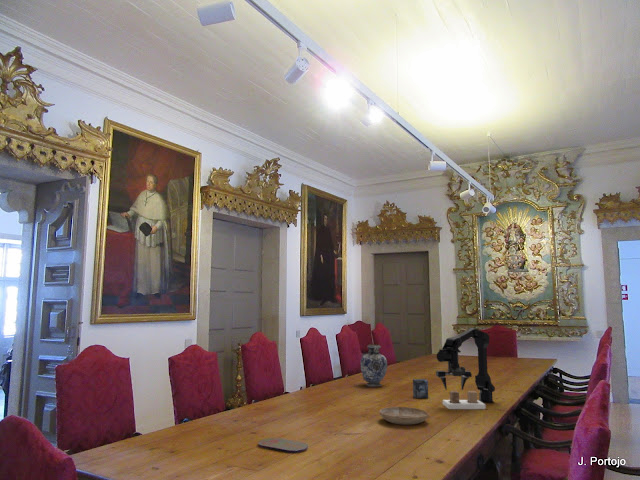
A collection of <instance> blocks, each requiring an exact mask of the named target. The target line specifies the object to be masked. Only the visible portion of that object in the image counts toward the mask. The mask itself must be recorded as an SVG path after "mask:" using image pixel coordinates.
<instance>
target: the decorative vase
mask: <svg viewBox="0 0 640 480" xmlns="http://www.w3.org/2000/svg"><path fill="white" fill-rule="evenodd" d="M366 348H368V353H365V354H363V356H362V357H361V359H360V362H359V363H360V371H361V373H362V375H361V376H362V378H363V381H365V382H367V383H366V386H367V387H371V388H372V387H373V388H376V387H377V388H380V387H382V386H383V385H382V384H381V383H380V382H382V381H383V379H384V378H385V377H386V373H387V370H388V361H387V357H385V355H383V354H381V353H380V349H381V348H382V346H380V344H376V343H375V344H373V343H369V344H368V345H367V346H366Z"/></svg>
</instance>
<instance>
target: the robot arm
mask: <svg viewBox="0 0 640 480" xmlns="http://www.w3.org/2000/svg"><path fill="white" fill-rule="evenodd" d="M472 338H473V340H474V343H475V346H476V347H477V362H478V365H477V366H478V373H477V374H476V375H474V378H475V379H474V383H475V385H476V388H477V390H478V391H479V392H478V398H479V399H478V400H479V401H481V402H482V403H494V400H493V399H494V398H493V393H494V392H495V389H496V387H495V385H494V384H493V382H492V379H491V376H490V375H489V372H488V356H487V355H488V354H487V353H488V352H487V348H488V346H489V344H490V335H489V333H487V332H484V331H481V330H479V329H478V328H476V327H475V328H474V327H468V329H466V330H465V331H463V332H461V333H460V334H458V335H456V336H450V337H448V338H446V340H445V342H444V344H443V346H442V348H440V349H438V352H437V353H436V360H437V361H438V362H439V363H444V362H447V371H445V370H443V369H441V370H440V369H439V370H436V371H435V376H436V377H438V378H440V379H441V382H442V384H443V387H444V390H446V391H447V388H448V387H447V381H446V380H447V376H453V377H460V385H461V390H462V391H463V390H464V388H465V384H466V382H467V380H468V379H470V378H472V376H473V375H472V372H471V371H470V370H466V367H465V366H461V367H460V362H459V354H460V353H461V352H462V351H461V350H460V349H459V348H460V347H461V346H462V345H463V343H465V342H466V341H467V340H469V339H472Z"/></svg>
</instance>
